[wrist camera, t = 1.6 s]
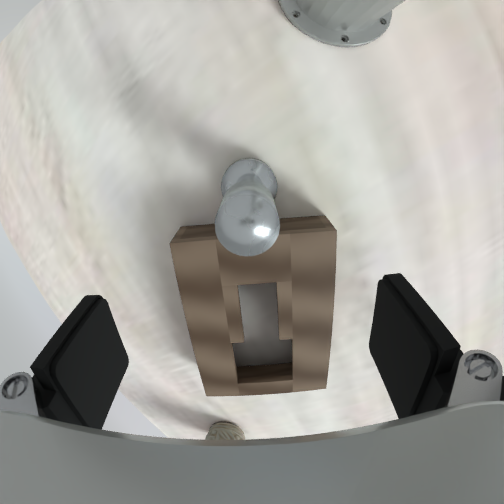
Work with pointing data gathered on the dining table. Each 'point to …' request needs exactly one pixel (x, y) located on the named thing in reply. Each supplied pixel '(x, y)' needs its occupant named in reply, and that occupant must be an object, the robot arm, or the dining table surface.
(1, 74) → the dining table surface
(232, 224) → the keyhole peg
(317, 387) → the keyhole board
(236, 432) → the carving
